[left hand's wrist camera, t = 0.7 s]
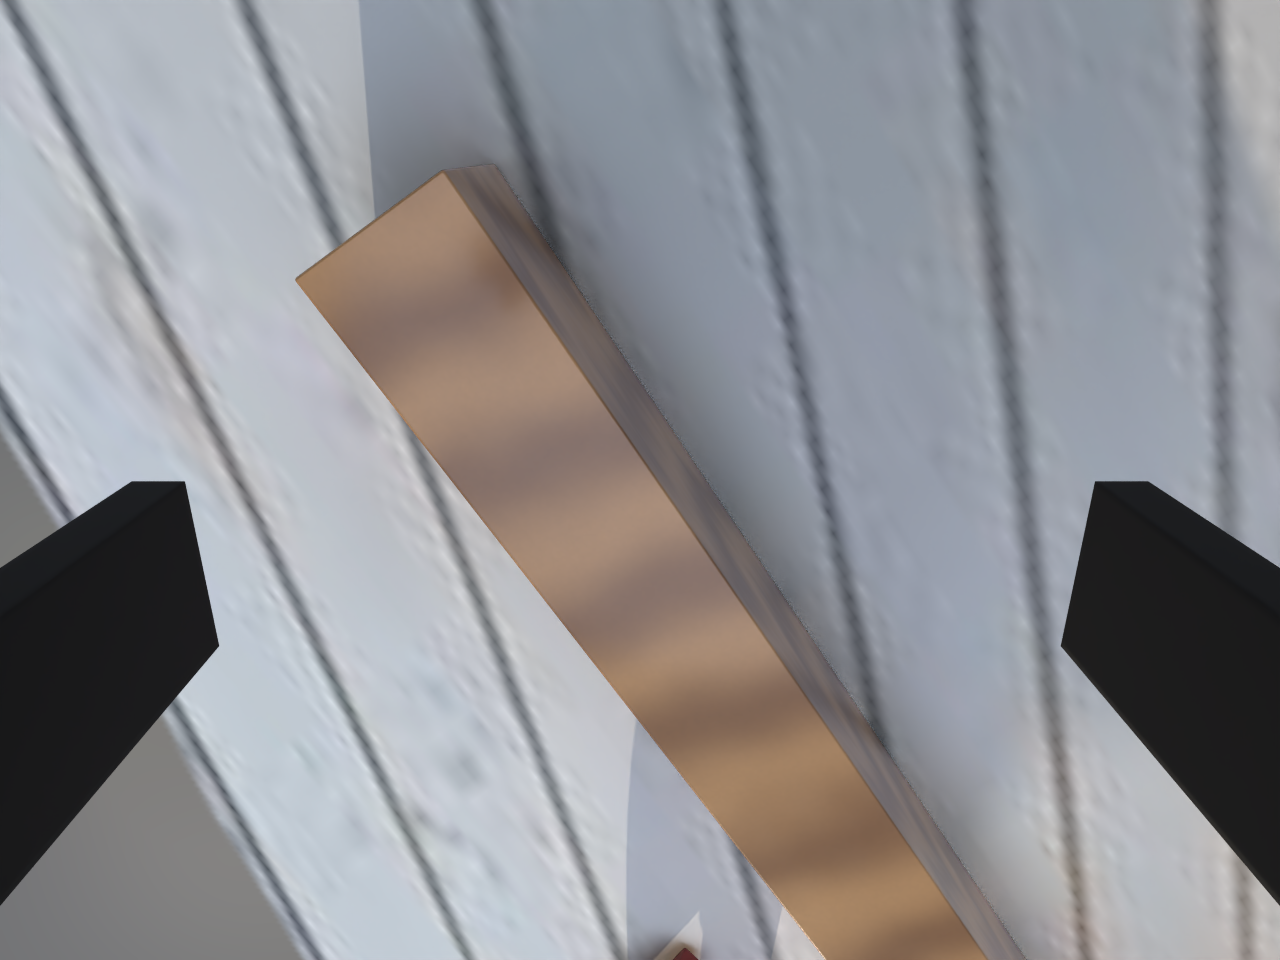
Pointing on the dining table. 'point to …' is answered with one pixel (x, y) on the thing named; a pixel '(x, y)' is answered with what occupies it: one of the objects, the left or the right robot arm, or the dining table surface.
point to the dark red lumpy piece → (685, 955)
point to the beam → (644, 564)
